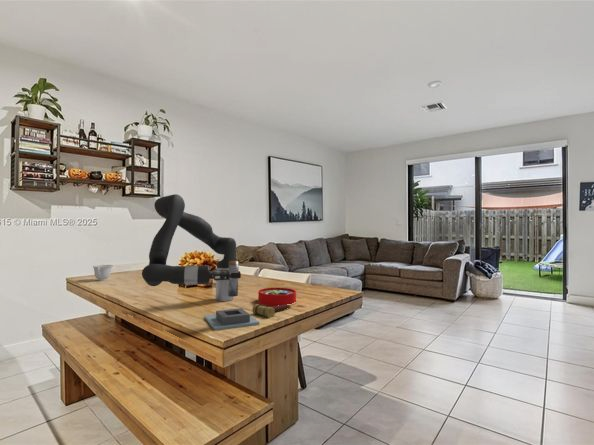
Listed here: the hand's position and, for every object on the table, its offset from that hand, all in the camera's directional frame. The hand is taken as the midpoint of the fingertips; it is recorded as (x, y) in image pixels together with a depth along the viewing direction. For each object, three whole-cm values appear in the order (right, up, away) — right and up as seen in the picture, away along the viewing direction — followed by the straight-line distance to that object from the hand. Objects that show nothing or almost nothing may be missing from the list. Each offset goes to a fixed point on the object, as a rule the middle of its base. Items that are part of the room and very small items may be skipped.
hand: (240, 274), depth 133 cm
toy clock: (+13, -21, +38) cm, 45 cm away
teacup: (-112, -19, +90) cm, 145 cm away
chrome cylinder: (-3, -8, -1) cm, 9 cm away
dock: (-4, -20, +1) cm, 20 cm away
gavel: (+14, -21, +17) cm, 30 cm away
